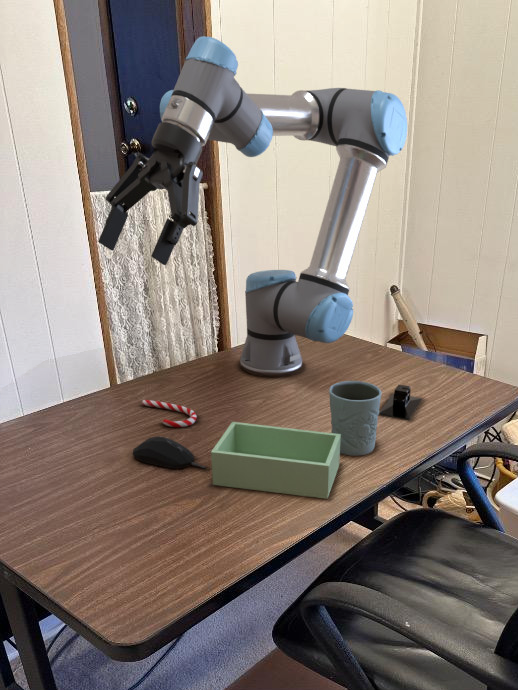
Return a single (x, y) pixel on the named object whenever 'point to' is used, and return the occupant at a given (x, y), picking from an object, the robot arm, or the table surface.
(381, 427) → the table surface
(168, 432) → the table surface
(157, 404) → the candy cane
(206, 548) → the table surface
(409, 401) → the black bracket mount
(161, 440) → the gaming mouse
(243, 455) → the open rectangular box
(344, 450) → the blue-grey embossed cup
